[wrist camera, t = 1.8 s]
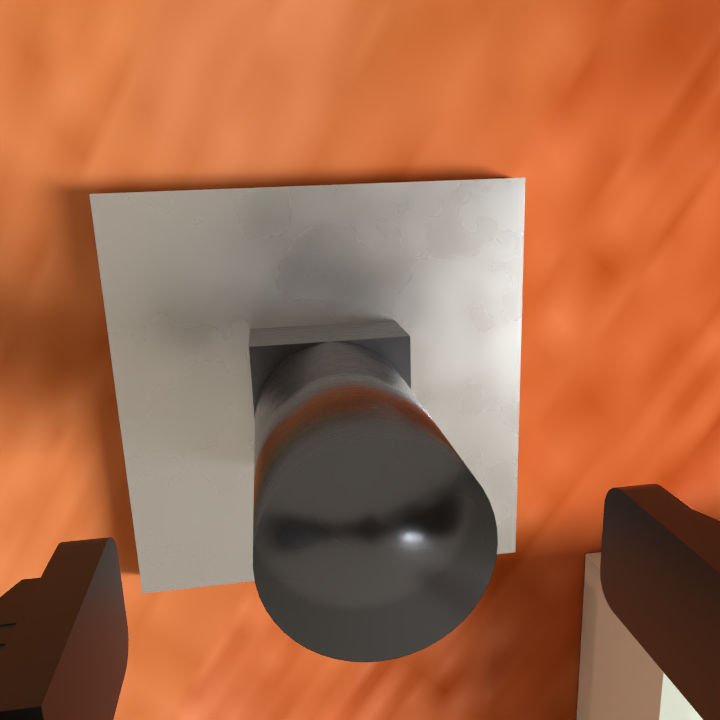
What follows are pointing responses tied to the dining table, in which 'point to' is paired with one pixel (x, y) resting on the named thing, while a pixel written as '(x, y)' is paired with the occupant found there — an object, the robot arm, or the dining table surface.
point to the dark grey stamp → (359, 496)
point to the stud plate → (298, 308)
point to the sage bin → (619, 666)
